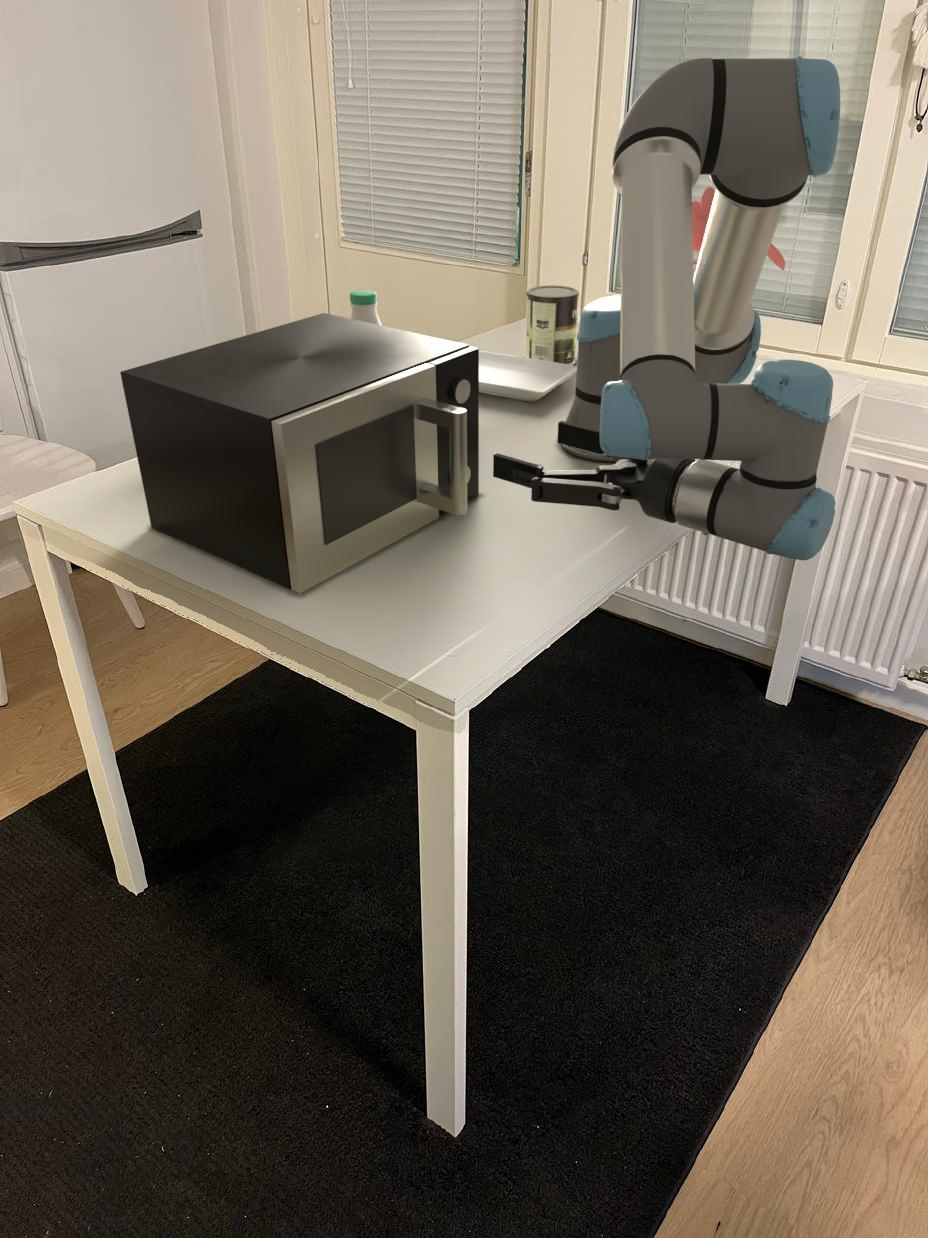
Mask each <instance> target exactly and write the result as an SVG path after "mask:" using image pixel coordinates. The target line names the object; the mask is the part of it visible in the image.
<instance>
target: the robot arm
mask: <svg viewBox="0 0 928 1238" xmlns="http://www.w3.org/2000/svg"><path fill="white" fill-rule="evenodd" d="M840 121H841V84H840V77H839V72H838V70H837V68H836V66H835V64H834V63H833V62H832V61H830V60H827V59H822V58H806V57H804V58H803V57H802V56H801V55H797V56H796V57H793V58H792V57H791V58H789V57H787V58H784V57H783V58H779V57H778V58H777V57H775V58H774V57H773V58H772V57H771V58H770V57H769V58H767V57H766V58H765V57H764V58H711V57H701V58H700V57H699V58H695V59H694V58H693V59H688V60H685V61H683V62H681V63H678V64H676V65H674V66H672V67H670V68H668V69H667V70H666V71H663V72H662V73H660V75H658V76H657V77H656V78H654V80H652V81H651V82H650V83H649V84H648V85H647V86H646V87H645V88H644V90H642V92H641V93H640V94H639V95H638V96H637V98H636V99H635V100H634V102H633V103H632V104H631V107H630V108H629V110H628V111H627V112H626V115H625V117H624V119H623V121H622V123H621V126H619V130H618V133H617V135H616V140H615V143H614V147H613V156H612V182H613V185H614V188H615V189H616V191H617V192H618V193H619V194H620V196H621V227H620V228H621V232H620V233H621V237H620V238H621V239H620V240H621V241H620V242H621V243H620V246H621V247H620V251H621V252H620V264H621V265H620V294H616V295H610V296H604V297H601V298H598V299H596V300H594V301H592V302H589V303H588V304H587V305H585V307H584V308H583V309H582V311H581V313H580V316H579V323H578V325H579V326H578V332H577V333H576V341H577V342H578V345H577V359H576V367H577V371H576V374H575V386H574V387H575V390H574V398H573V401H572V404H571V406H570V408H569V411H568V414H567V417H566V419H565V420H560V421H558V425H557V444H561V446H562V448H563V449H564V450H565V451H567V452H568V453H569V454H572V455H574V456H576V457H578V458H582V459H586V460H591V461H596V462H597V461H598V462H607V463H608V462H609V463H613V464H611V465H610V464H607V465H605V464H603V465H602V464H601V465H598V466H597V467H596V468H595V469H563V470H562V469H560V470H559V469H558V470H557V469H556V470H544V466H543V465H542V464H537V463H533V462H530V461H526V460H522V459H520V458H519V459H518V458H516V457H513V456H509V455H506V454H501V453H498V452H497V453H495V454H492V455H493V459H492V460H493V462H492V463H493V466H492V467H493V468H492V469H493V470H492V477H493V478H496V479H499V480H503V481H506V482H508V483H513V484H516V485H519V486H522V487H525V488H529V489H531V496H530V497H531V501H532V502H535V503H547V504H558V505H559V504H561V505H571V506H584V507H594V508H595V507H596V508H601V509H606V510H608V511H609V510H610V511H619V510H620V506H621V501H622V500H630V501H636V502H638V504H639V506H640V508H641V510H642V512H643V513H644V514H645V515H646V516H647V517H650V518H653V519H656V520H660V521H663V522H665V523H669V524H675V523H677V524H678V526H681V527H685V528H688V529H691V530H694V531H697V532H701V534H702V535H704V536H708V535H711V536H715V537H717V538H720V539H723V540H727V541H731V542H734V543H737V544H740V545H744V546H746V547H749V548H753V549H756V550H759V551H763V552H766V554H767V555H774V556H779V557H783V558H787V559H793V560H797V561H808V560H811V559H813V558H814V557H815V556H816V555H817V554H818V553H819V552H820V551H821V550H822V548H823V547H824V545H825V544H826V542H827V539H828V537H829V535H830V533H831V529H832V526H833V523H834V519H835V515H836V509H835V508H836V499H835V497H834V495H833V494H832V493H831V492H829V491H826V490H824V489H822V488H821V487H817V479H818V477H817V474H818V468H819V463H820V460H821V459H820V458H821V454H822V451H823V446H824V442H825V437H826V433H827V428H828V423H829V422H830V420H831V416H830V413H831V407H832V401H833V400H832V399H833V391H834V378H833V376H832V375H831V373H829V371H828V370H827V369H826V368H825V367H823V366H821V365H818V364H817V363H813V362H809V361H804V360H799V359H778V360H769V361H765V362H763V363H761V364H759V366H758V367H757V368H756V369H755V372H754V374H753V377H752V378H751V383H743V382H744V381H745V380H747V378H748V377H749V376H750V374H751V372H752V370H753V368H754V366H755V363H756V360H757V352H759V349H760V344H761V336H762V325H761V324H762V323H761V317H760V314H759V312H758V311H757V310H756V309H754V307H753V304H752V303H751V302H752V299H753V296H754V293H755V290H756V287H757V284H758V281H759V279H760V276H761V273H762V270H763V268H764V265H765V261H766V258H767V257H768V256H767V253H768V250H769V247H770V245H771V243H773V242H772V241H773V239H774V235H775V233H776V230H777V228H778V224H779V221H780V219H781V215H782V213H783V210H784V207H785V205H787V204H789V203H790V202H792V201H793V200H794V199H796V198H797V197H798V196H799V195H800V193H802V191H803V189H804V188H805V185H806V183H807V181H808V177H809V176H811V177H813V178H817V177H818V176H822V175H826V174H828V173H829V171H830V170H831V169H832V166H833V163H834V160H835V158H836V157H835V156H836V153H837V147H838V139H839V131H840ZM700 175H705V176H707V175H709V178H710V181H711V184H712V186H713V187H714V190H715V192H716V193H715V197H714V201H713V205H712V208H711V212H710V216H709V220H708V224H707V228H706V232H705V236H704V240H703V244H702V248H701V251H699V256H698V260H697V261H698V263H697V264H696V268H695V272H694V264H693V261H694V251H693V232H692V202H693V191H692V190H693V188H694V187H695V185H696V184H697V182H698V180H699V179H700ZM715 461H730V462H731V461H732V462H740V464H739V468H736V467H733V466H730V465H726V464H721V463H719V462H715ZM614 462H615V463H614Z"/></svg>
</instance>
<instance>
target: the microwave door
mask: <svg viewBox="0 0 928 1238" xmlns="http://www.w3.org/2000/svg"><path fill="white" fill-rule="evenodd" d="M271 422H272V431H273V439H274V447H275V456H276V464H277V473H278V481H279V489H280V498H281V506H282V515H283V523H284V531H285V540H286V548H287V556H288V565H289V573H290V582H291V589H290V590H291V591H293V592H295V593H298V594H299V595H300V594H302V593H305V592H306V591H308V590H310V589H312V588H313V587H316V586H317V585H319V584H321V583H323V582H324V581H326V580H328V579H329V578H332V577H333V576H336V575H337V574H339V573H341V572H343V571H345V570H346V569H348V568H350V567H352V566H354V565H356V564H358V563H359V562H361V561H363V560H364V559H366V558H368V557H370V556H371V555H374V554H376V553H377V552H379V551H381V550H383V549H384V548H386V547H388V546H390V545H392V544H394V543H396V542H397V541H399V540H401V539H403V538H405V537H407V536H408V535H410V534H412V533H414V532H416V531H418V530H419V529H421V528H423V527H425V526H427V525H429V524H430V523H432V522H435V521H436V520H438V519H439V518H440V516H439V509H440V510H443V511H446V513H449V514H451V515H454V516H463V515H467V514H468V501H467V410H466V409H464V408H461V407H457V406H453V405H449V404H446V403H442V402H438V401H436V366H435V365H432V364H428V363H426V364H423V365H420V366H418V367H415V368H412V369H410V370H407V371H404V372H402V373H399V374H396V375H394V376H391V377H388V378H386V379H383V380H380V381H377V382H375V383H372V384H369V385H367V386H364V387H361V388H359V389H356V390H353V391H351V392H348V393H345V394H343V395H340V396H337V397H335V398H332V399H329V400H327V401H324V402H321V403H319V404H316V405H313V406H311V407H308V408H305V409H303V410H300V411H297V412H295V413H292V414H289V415H287V416H284V417H281V418H279V419H276V420H273V421H271ZM437 425H439V426H443V427H446V428H449V429H450V489H447V488H444V487H441V486H438V449H437Z"/></svg>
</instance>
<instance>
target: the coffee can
mask: <svg viewBox="0 0 928 1238" xmlns="http://www.w3.org/2000/svg"><path fill="white" fill-rule="evenodd" d="M526 296H527V298H526V334H525V335H526V337H525V339H526V340H525V358H531V359H538V360H544V361H550V362H557V363H562V364H568V365H573V366H575V363H576V343H577V342H576V341H577V328H578V327H577V326H578V306H579V305H578V304H579V296H580V291H579V290H578V289H576V288H574V287H571V286H564V285H540V286H534V287H531V288H529V289H527V290H526Z"/></svg>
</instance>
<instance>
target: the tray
mask: <svg viewBox="0 0 928 1238" xmlns="http://www.w3.org/2000/svg"><path fill="white" fill-rule="evenodd" d="M576 371H577V365H568V364H562V363H557V362H550V361H544V360H538V359H531V358H526V357H525V356H517V355H512V354H511V355H510V354H505V353H504V354H503V353H498V352H490V351H485V350H480V349H479V393H480V394H481V393H482V394H485V395H491V396H498V397H503V398H507V399H513V400H518V401H523V402H524V401H525V402H530V403H533V402H537V401H538V400H540V399H541V398H543V397H544V396H546V395H547V394H549V393H551V391H553V390H554V389H557V387H559V386H560V385H561V384H563V383H564V382H566V381H567V380H569V379H570V378H572V377H573V376H574V375H576Z"/></svg>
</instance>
